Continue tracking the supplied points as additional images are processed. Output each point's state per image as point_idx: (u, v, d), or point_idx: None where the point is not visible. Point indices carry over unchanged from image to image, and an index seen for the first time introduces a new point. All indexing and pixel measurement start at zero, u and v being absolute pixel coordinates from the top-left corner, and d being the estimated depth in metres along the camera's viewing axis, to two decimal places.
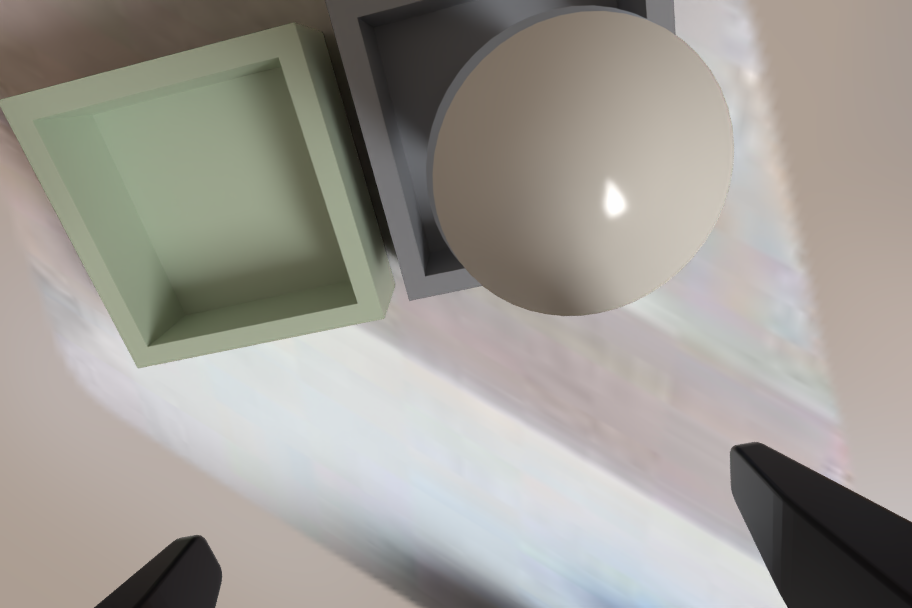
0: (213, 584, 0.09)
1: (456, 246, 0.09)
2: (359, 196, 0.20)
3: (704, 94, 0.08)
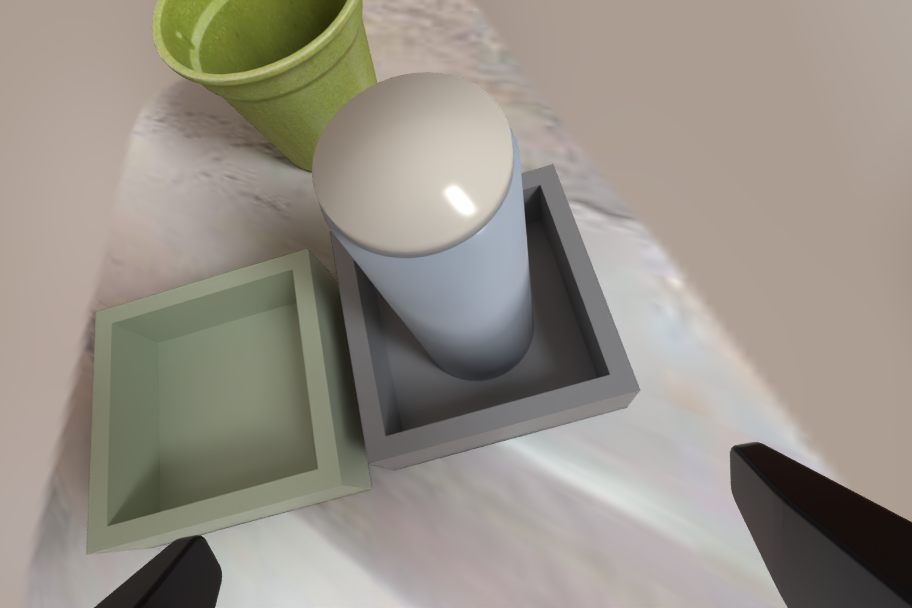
0: (213, 584, 0.09)
1: (323, 200, 0.12)
2: (341, 382, 0.22)
3: (480, 99, 0.12)
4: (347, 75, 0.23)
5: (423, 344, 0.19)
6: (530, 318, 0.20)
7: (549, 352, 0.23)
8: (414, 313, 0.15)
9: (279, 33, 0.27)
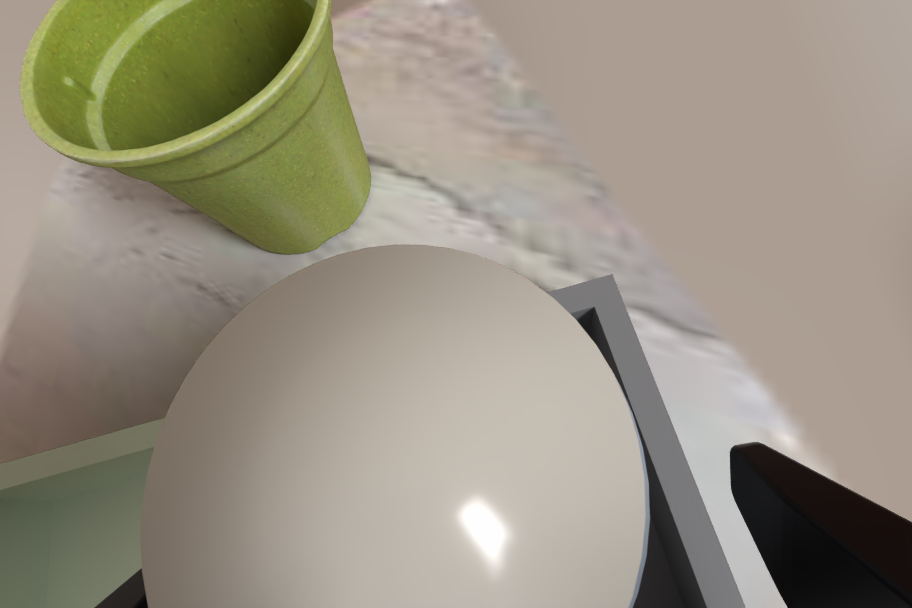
0: None
1: (156, 605, 0.05)
2: None
3: (553, 329, 0.05)
4: (311, 139, 0.16)
5: None
6: None
7: None
8: None
9: (227, 70, 0.20)
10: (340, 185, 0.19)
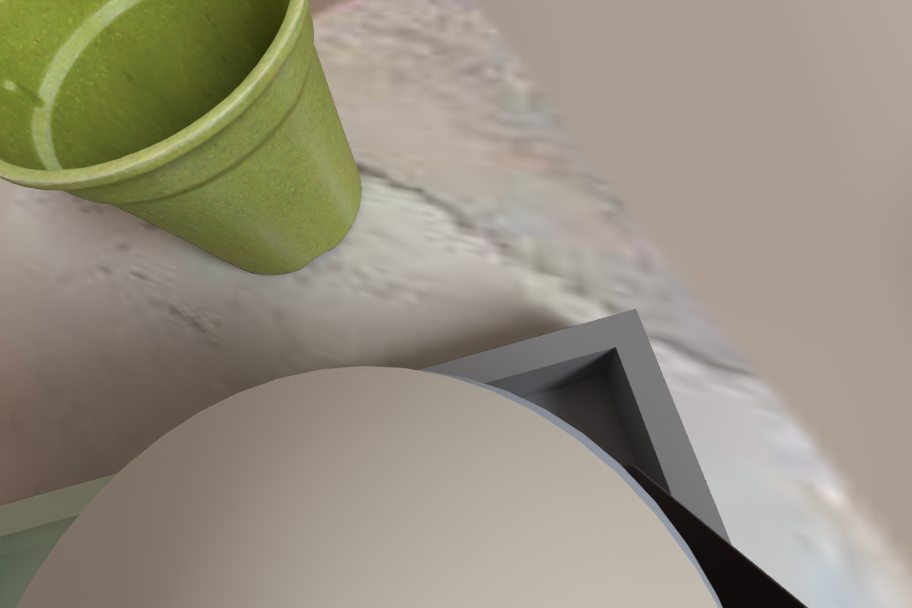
0: None
1: None
2: None
3: (620, 534, 0.03)
4: (290, 152, 0.14)
5: None
6: None
7: None
8: None
9: (200, 71, 0.18)
10: (325, 201, 0.17)
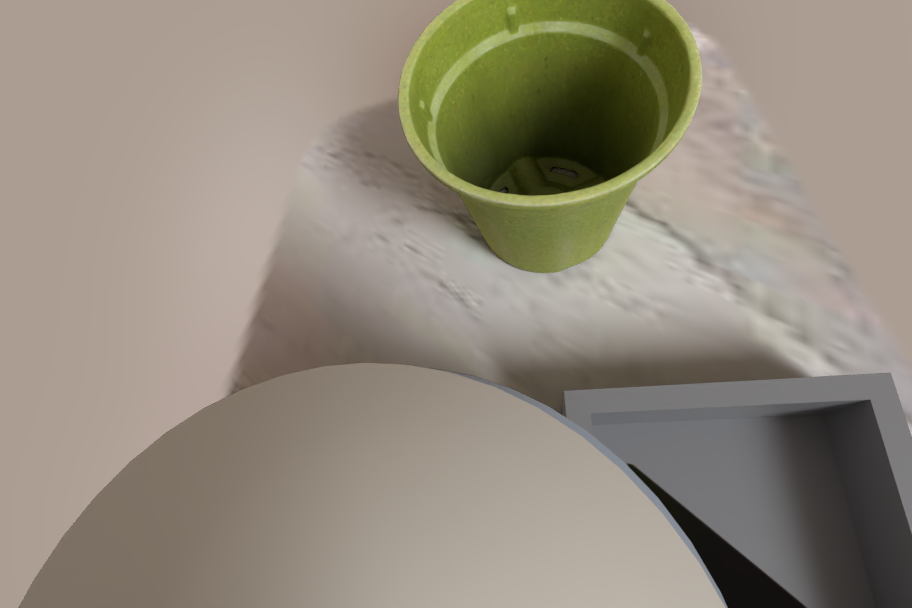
0: None
1: None
2: None
3: (624, 530, 0.03)
4: (625, 193, 0.18)
5: None
6: None
7: None
8: None
9: (516, 97, 0.22)
10: (610, 226, 0.21)
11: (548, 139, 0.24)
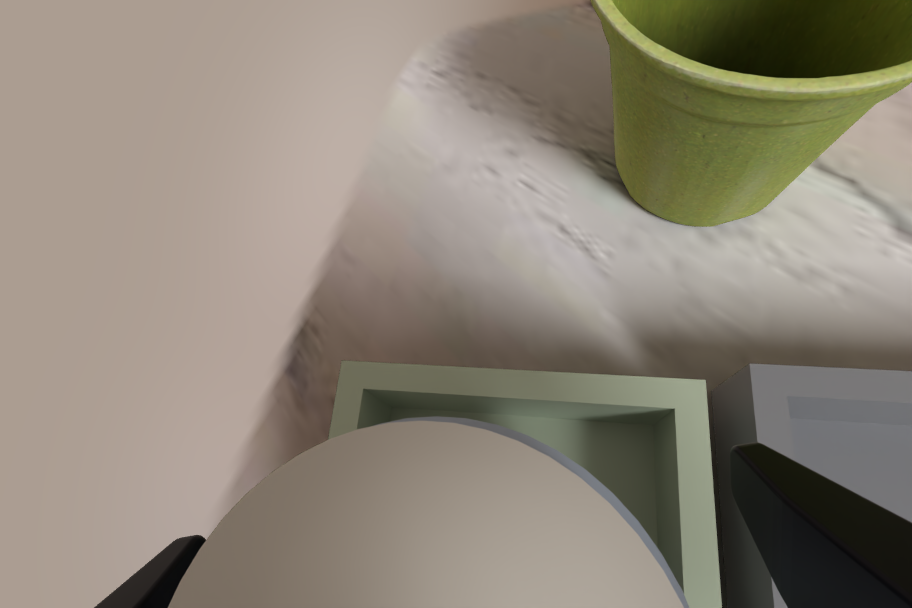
0: None
1: None
2: None
3: (611, 547, 0.04)
4: (865, 112, 0.13)
5: None
6: None
7: None
8: None
9: (693, 1, 0.18)
10: (805, 168, 0.16)
11: (712, 66, 0.20)
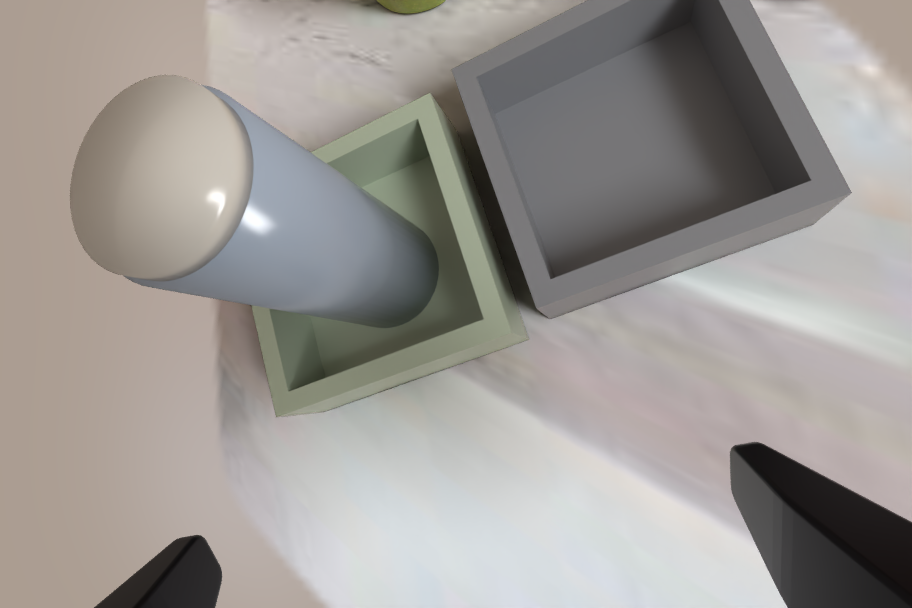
0: (213, 584, 0.09)
1: (93, 255, 0.12)
2: (486, 234, 0.21)
3: (187, 89, 0.12)
4: None
5: None
6: (415, 249, 0.20)
7: (715, 174, 0.20)
8: (268, 305, 0.15)
9: None
10: None
11: None
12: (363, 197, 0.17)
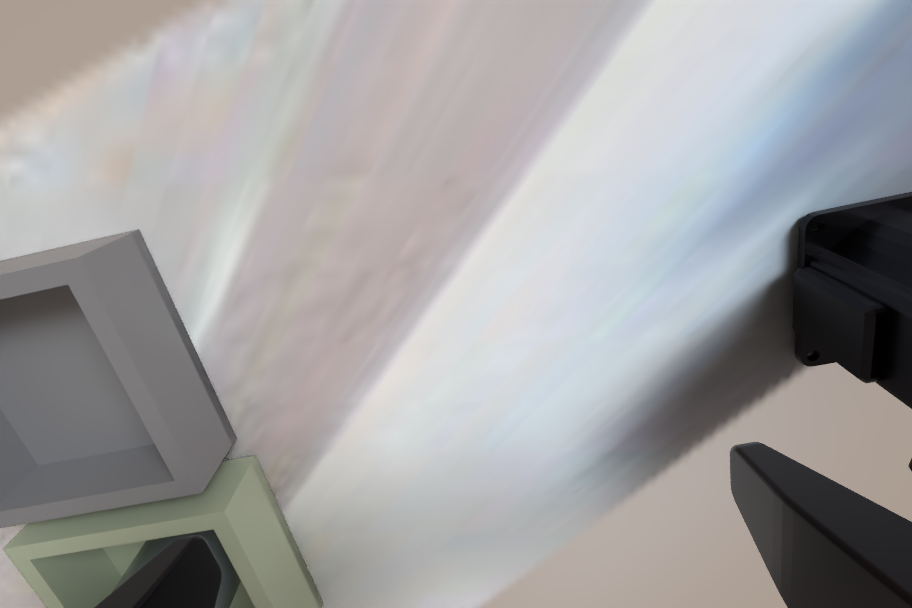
0: (213, 584, 0.09)
1: None
2: None
3: None
4: None
5: None
6: None
7: None
8: None
9: None
10: None
11: None
12: None
